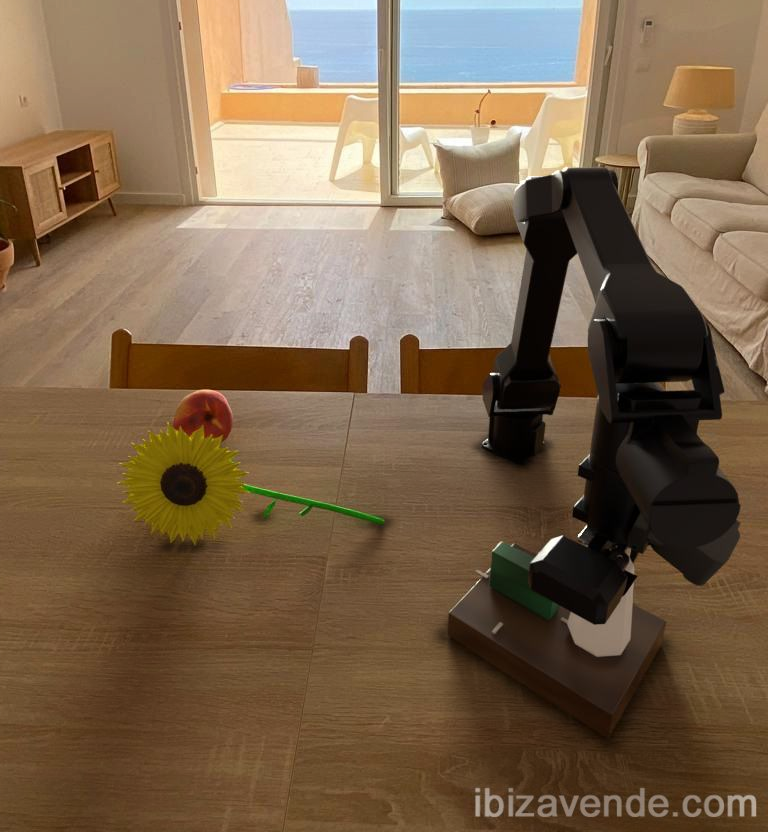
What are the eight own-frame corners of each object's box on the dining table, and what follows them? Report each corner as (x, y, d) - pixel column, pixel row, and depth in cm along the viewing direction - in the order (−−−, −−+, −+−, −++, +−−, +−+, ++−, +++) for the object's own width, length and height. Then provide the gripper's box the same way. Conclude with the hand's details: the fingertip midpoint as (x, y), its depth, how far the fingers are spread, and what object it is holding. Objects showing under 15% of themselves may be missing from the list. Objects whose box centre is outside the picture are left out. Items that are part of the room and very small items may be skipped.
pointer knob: (489, 586, 68) (491, 549, 66) (498, 575, 69) (501, 538, 67) (549, 621, 64) (554, 582, 62) (558, 609, 65) (563, 570, 63)
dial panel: (607, 739, 57) (612, 713, 55) (440, 631, 66) (440, 606, 65) (661, 644, 65) (667, 619, 64) (505, 560, 75) (507, 537, 73)
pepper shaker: (596, 668, 58) (615, 570, 54) (554, 622, 63) (568, 527, 58) (643, 643, 61) (665, 547, 56) (599, 600, 65) (616, 507, 60)
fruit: (175, 464, 91) (167, 412, 88) (177, 430, 98) (169, 381, 95) (236, 455, 93) (230, 404, 89) (234, 423, 100) (228, 374, 96)
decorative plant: (401, 460, 80) (145, 392, 77) (403, 483, 75) (127, 411, 72) (365, 568, 83) (118, 506, 81) (365, 598, 78) (100, 533, 75)
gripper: (695, 574, 42) (655, 741, 49) (773, 438, 55) (733, 584, 62) (533, 498, 49) (517, 654, 55) (636, 392, 62) (613, 529, 68)
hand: (603, 602), depth 60 cm, fingers closed on pepper shaker, 4 cm apart
